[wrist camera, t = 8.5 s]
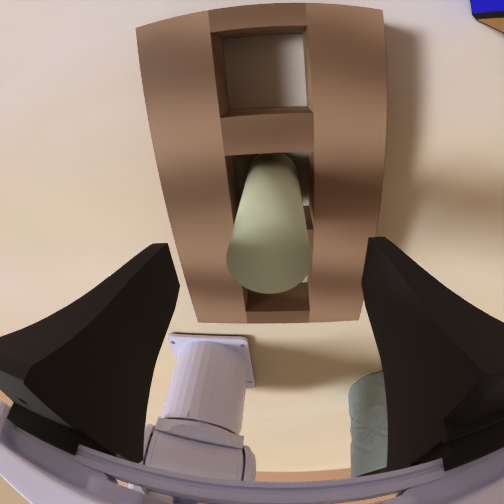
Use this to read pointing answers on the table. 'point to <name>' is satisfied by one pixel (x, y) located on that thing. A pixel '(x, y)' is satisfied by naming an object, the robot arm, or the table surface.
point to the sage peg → (270, 228)
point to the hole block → (270, 150)
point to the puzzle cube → (489, 12)
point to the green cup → (368, 426)
